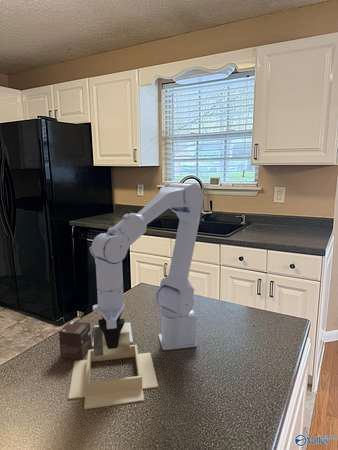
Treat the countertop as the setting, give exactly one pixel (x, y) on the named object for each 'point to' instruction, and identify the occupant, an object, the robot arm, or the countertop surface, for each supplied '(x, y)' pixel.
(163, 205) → the robot arm
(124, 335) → the block
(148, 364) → the carton
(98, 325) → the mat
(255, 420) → the countertop surface
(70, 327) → the box
